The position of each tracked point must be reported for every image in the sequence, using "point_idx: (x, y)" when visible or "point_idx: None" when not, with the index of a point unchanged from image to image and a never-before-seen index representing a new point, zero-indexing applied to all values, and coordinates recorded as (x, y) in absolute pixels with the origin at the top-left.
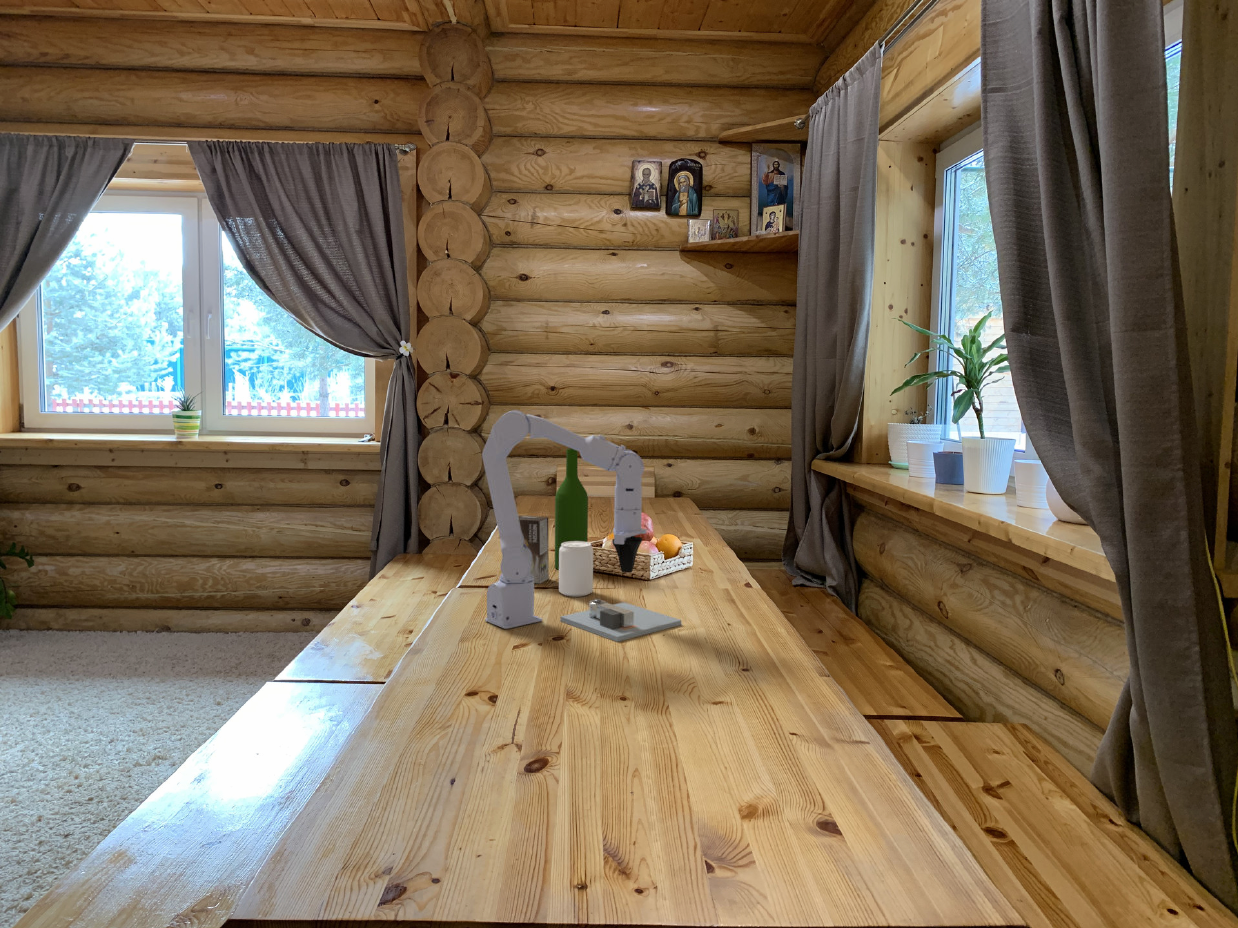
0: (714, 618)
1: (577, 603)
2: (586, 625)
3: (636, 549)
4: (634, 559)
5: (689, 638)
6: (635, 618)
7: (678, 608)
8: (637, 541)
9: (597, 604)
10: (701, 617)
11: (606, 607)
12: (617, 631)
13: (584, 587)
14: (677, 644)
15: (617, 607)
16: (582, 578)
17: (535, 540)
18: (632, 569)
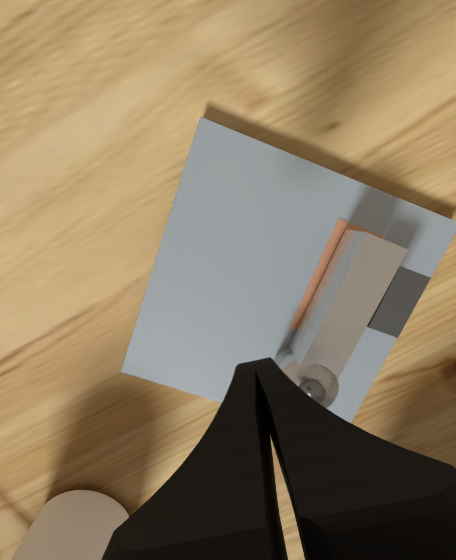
0: (63, 41)
1: (171, 472)
2: (390, 347)
3: (260, 453)
4: (253, 396)
5: (329, 27)
6: (261, 263)
7: (35, 213)
8: (390, 542)
9: (335, 377)
10: (81, 93)
11: (357, 337)
12: (410, 247)
13: (95, 514)
14: (406, 38)
15: (341, 306)
16: (89, 550)
17: None
18: (252, 364)
